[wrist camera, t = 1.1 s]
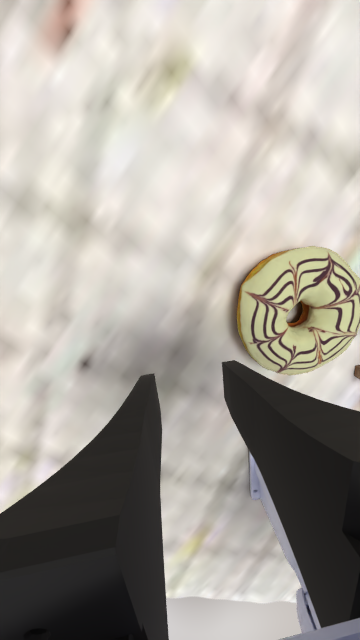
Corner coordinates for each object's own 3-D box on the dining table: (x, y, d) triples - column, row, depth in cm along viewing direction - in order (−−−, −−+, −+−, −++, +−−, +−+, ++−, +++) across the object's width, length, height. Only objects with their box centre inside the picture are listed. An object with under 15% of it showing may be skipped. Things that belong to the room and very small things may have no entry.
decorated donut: (321, 225, 19) (361, 219, 15) (346, 330, 22) (384, 344, 18) (212, 281, 19) (226, 287, 15) (253, 376, 22) (272, 399, 18)
